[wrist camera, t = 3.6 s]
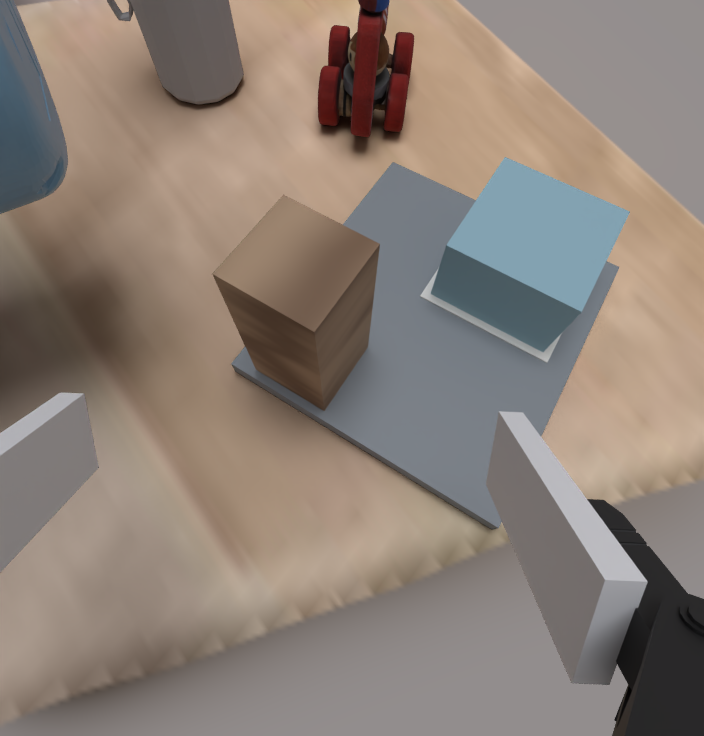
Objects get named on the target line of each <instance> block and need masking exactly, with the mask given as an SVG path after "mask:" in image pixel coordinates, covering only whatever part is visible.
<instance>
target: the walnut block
mask: <svg viewBox="0 0 704 736" xmlns="http://www.w3.org/2000/svg"><path fill="white" fill-rule="evenodd" d="M379 249H380V244H379V243H377V242H375V241H373V240H371V239H369V238H368V237H366V236H364V235H362V234H360V233H358V232H356V231H354V230H352V229H350V228H348V227H346V226H344V225H342V224H340V223H338V222H336V221H334V220H332V219H330V218H328V217H326V216H324V215H322V214H320V213H318V212H316V211H314V210H312V209H311V208H309V207H307V206H305V205H303V204H301V203H299V202H297V201H295V200H293V199H291V198H289V197H287V196H285V195H283V196H282V197H281V198H280V199H279V200H278V201H277V202H276V204H275V205H274V206H273V207H272V208H271V209H270V210H269V211H268V212H267V214H266V215H265V216H264V217H263V218H262V219H261V220H260V221H259V223H258V224H257V225H256V226H255V227H254V228H253V229H252V230H251V231H250V233H249V234H248V235H247V236H246V237H245V238H244V239H243V240H242V241H241V243H240V244H239V245H238V246H237V247H236V248H235V249H234V250H233V251H232V253H231V254H230V255H229V256H228V257H227V258H226V259H225V260H224V261H223V263H222V264H221V265H220V266H219V267H218V268H217V269H216V270H215V271H214V273H213V276H214V279H215V281H216V283H217V285H218V287H219V290H220V292H221V294H222V296H223V298H224V301H225V303H226V305H227V307H228V309H229V312H230V314H231V316H232V318H233V320H234V323H235V325H236V327H237V329H238V331H239V334H240V336H241V338H242V340H243V342H244V344H245V347H246V349H247V351H248V353H249V355H250V358H251V360H252V362H253V364H254V366H255V369H256V370H257V371H259V372H261V373H262V374H264V375H266V376H267V377H269V378H271V379H272V380H274V381H275V382H277V383H279V384H280V385H282V386H284V387H285V388H287V389H289V390H290V391H292V392H294V393H295V394H297V395H298V396H300V397H302V398H303V399H305V400H307V401H308V402H310V403H312V404H313V405H315V406H317V407H318V408H320V409H321V410H323V411H325V410H326V408H327V407H328V405H329V404H330V402H331V401H332V399H333V398H334V396H335V395H336V393H337V392H338V390H339V389H340V387H341V386H342V384H343V383H344V382H345V380H346V379H347V377H348V376H349V374H350V373H351V371H352V370H353V368H354V367H355V365H356V364H357V362H358V361H359V359H360V358H361V356H362V355H363V354H364V352H365V351H366V349H367V348H368V343H369V334H370V326H371V317H372V309H373V300H374V291H375V283H376V274H377V266H378V257H379Z"/></svg>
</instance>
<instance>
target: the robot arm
mask: <svg viewBox="0 0 704 736" xmlns="http://www.w3.org/2000/svg"><path fill="white" fill-rule="evenodd" d="M67 165H68V155H67V146H66V142H65V137H64V133H63V130H62V126H61V123H60V120H59V117H58V114H57V111H56V108H55V105H54V102H53V99H52V97H51V94H50V91H49V88H48V85H47V83H46V80H45V77H44V74H43V72H42V69H41V67H40V64H39V62H38V59H37V56H36V54H35V51H34V49H33V46H32V44H31V41H30V39H29V36H28V34H27V31H26V29H25V26H24V24H23V22H22V19H21V17H20V14H19V12H18V9H17V7H16V5H15V2H14V0H0V214H1V213H4V212H7V211H10V210H12V209H15V208H18V207H21V206H23V205H26V204H29V203H32V202H34V201H37V200H40V199H42V198H44V197H46V196H48V195H50V194H51V193H53V192H54V191H55V190H56V189H57V188H58V187H59V186H60V185H61V183H62V181H63V179H64V177H65V174H66V170H67ZM98 468H99V466H98V461H97V456H96V451H95V446H94V441H93V436H92V431H91V425H90V420H89V415H88V410H87V405H86V400H85V395H84V394H82V393H59V394H57V395H56V396H54V397H53V398H51V399H50V400H48V401H47V402H45V403H44V404H42V405H41V406H39V407H38V408H37V409H35V410H34V411H32V412H31V413H29V414H28V415H26V416H25V417H23V418H22V419H20V420H19V421H17V422H16V423H14V424H13V425H11V426H10V427H8V428H7V429H5V430H4V431H3V432H1V433H0V572H1V571H2V570H3V569H4V568H5V567H6V566H7V565H8V564H9V563H10V562H11V560H12V559H13V558H14V557H15V556H16V555H17V554H18V553H19V552H20V551H21V550H22V549H23V548H24V547H25V546H26V545H27V543H28V542H29V541H30V540H31V539H32V538H33V537H34V536H35V535H36V534H37V533H38V532H39V531H40V530H41V529H42V527H43V526H44V525H45V524H46V523H47V522H48V521H49V520H50V519H51V518H52V517H53V516H54V515H55V514H56V513H57V511H58V510H59V509H60V508H61V507H62V506H63V505H64V504H65V503H66V502H67V501H68V500H69V499H70V498H71V497H72V495H73V494H74V493H75V492H76V491H77V490H78V489H79V488H80V487H81V486H82V485H83V484H84V483H85V482H86V481H87V480H88V478H89V477H90V476H91V475H92V474H93V473H94V472H95V471H96V470H97V469H98ZM486 486H487V488H488V490H489V493H490V495H491V497H492V500H493V502H494V504H495V507H496V509H497V511H498V514H499V516H500V518H501V521H502V523H503V525H504V528H505V530H506V532H507V535H508V537H509V539H510V541H511V544H512V546H513V548H514V551H515V553H516V555H517V558H518V560H519V562H520V565H521V567H522V569H523V571H524V574H525V576H526V579H527V581H528V583H529V586H530V588H531V590H532V592H533V595H534V597H535V600H536V602H537V604H538V607H539V609H540V611H541V613H542V616H543V618H544V620H545V623H546V625H547V627H548V630H549V632H550V634H551V637H552V639H553V641H554V644H555V646H556V648H557V651H558V653H559V655H560V658H561V660H562V662H563V665H564V667H565V669H566V672H567V674H568V676H569V678H570V681H571V683H579V684H602V685H609V684H610V682H611V679H612V676H613V674H614V671H615V668H616V665H617V664H618V666H619V668H620V670H621V672H622V674H623V675H624V677H625V679H626V681H627V683H628V687H627V689H626V692H625V694H624V697H623V700H622V702H621V705H620V707H619V710H618V712H617V715H616V717H615V721H616V725H615V728H614V731H613V735H612V736H704V599H702V598H699V597H696V596H693V595H690V594H688V593H687V592H686V591H685V590H684V589H683V587H682V586H681V585H680V584H679V582H678V581H677V580H676V579H675V578H674V576H673V575H672V574H671V572H670V571H669V570H668V569H667V568H666V566H665V565H664V564H663V563H662V561H661V560H660V559H659V558H658V557H657V555H656V554H655V553H654V552H653V550H652V549H651V548H650V547H649V546H647V545H646V542H645V541H644V539H643V538H642V537H641V536H640V534H639V533H636V529H635V528H634V527H633V526H632V525H631V524H630V522H629V521H628V520H627V518H626V517H625V516H624V515H623V514H622V513H621V512H619V511H618V510H617V509H615V508H614V507H613V506H611V505H610V504H608V503H607V502H606V501H604V500H593V499H586V497H585V496H584V495H583V493H582V492H581V491H580V489H579V488H578V486H577V485H576V484H575V482H574V481H573V480H572V478H571V477H570V476H569V474H568V473H567V472H566V470H565V469H564V467H563V466H562V465H561V463H560V462H559V461H558V459H557V458H556V457H555V455H554V454H553V453H552V451H551V450H550V448H549V447H548V446H547V444H546V443H545V442H544V440H543V439H542V438H541V436H540V435H539V434H538V432H537V431H536V429H535V428H534V427H533V425H532V424H531V423H530V421H529V420H528V419H527V417H526V416H525V415H524V413H523V412H502V411H499V413H498V418H497V424H496V430H495V435H494V441H493V446H492V452H491V458H490V463H489V469H488V474H487V480H486Z"/></svg>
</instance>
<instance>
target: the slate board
mask: <svg viewBox="0 0 704 736" xmlns="http://www.w3.org/2000/svg"><path fill="white" fill-rule="evenodd" d="M475 201H476V200H474V199H471V198H469V197H467V196H465V195H463V194H461V193H459V192H456V191H454V190H452V189H450V188H448V187H446V186H444V185H441V184H439V183H437V182H435V181H433V180H431V179H428V178H426V177H424V176H422V175H420V174H418V173H416V172H413V171H411V170H409V169H407V168H405V167H403V166H401V165H398V164H396V163H394V162H393V163H392V164H391V165H390V166H389V168H388V169H387V170H386V171H385V173H384V174H383V175H382V176H381V178H380V179H379V180H378V181H377V183H376V184H375V185H374V186H373V188H372V189H371V190H370V191H369V193H368V194H367V195H366V196H365V198H364V199H363V200H362V201H361V203H360V204H359V205H358V206H357V208H356V209H355V210H354V211H353V213H352V214H351V215H350V216H349V218H348V219H347V220H346V221H345V223H344V224H343V225H344V226H346V227H348V228H350V229H352V230H354V231H356V232H358V233H360V234H362V235H364V236H366V237H368V238H369V239H371V240H373V241H375V242H377V243H379V244H380V249H379V257H378V266H377V274H376V283H375V291H374V300H373V309H372V317H371V326H370V334H369V343H368V348H367V349H366V351H365V352H364V354H363V355H362V356H361V358H360V359H359V361H358V362H357V364H356V365H355V367H354V368H353V370H352V371H351V373H350V374H349V376H348V377H347V379H346V380H345V382H344V383H343V384H342V386H341V387H340V389H339V390H338V392H337V393H336V395H335V396H334V398H333V399H332V401H331V402H330V404H329V405H328V407H327V408H326V410H325V411H323V410H321V409H320V408H318V407H317V406H315V405H313V404H312V403H310V402H308V401H307V400H305V399H303V398H302V397H300V396H298V395H297V394H295V393H294V392H292V391H290V390H289V389H287V388H285V387H284V386H282V385H280V384H279V383H277V382H275V381H274V380H272V379H271V378H269V377H267V376H266V375H264V374H262V373H261V372H259V371H257V370H256V369H255V366H254V364H253V362H252V360H251V358H250V355H249V353H248V351H247V349H246V347H244V349H243V350H242V351H241V352H240V354H239V355H238V356H237V357H236V359H235V360H234V361H233V362H232V366H233V368H234V370H235V371H236V372H237V373H239V374H241V375H242V376H244V377H245V378H247V379H249V380H250V381H252V382H253V383H255V384H257V385H258V386H260V387H262V388H263V389H265V390H266V391H268V392H270V393H271V394H273V395H275V396H276V397H278V398H279V399H281V400H283V401H284V402H286V403H288V404H289V405H291V406H292V407H294V408H296V409H297V410H299V411H301V412H302V413H304V414H305V415H307V416H309V417H310V418H312V419H313V420H315V421H317V422H318V423H320V424H322V425H323V426H325V427H326V428H328V429H330V430H331V431H333V432H335V433H336V434H338V435H339V436H341V437H343V438H344V439H346V440H348V441H349V442H351V443H352V444H354V445H356V446H357V447H359V448H360V449H362V450H364V451H365V452H367V453H369V454H370V455H372V456H373V457H375V458H377V459H378V460H380V461H382V462H383V463H385V464H386V465H388V466H390V467H391V468H393V469H395V470H396V471H398V472H399V473H401V474H403V475H404V476H406V477H408V478H409V479H411V480H412V481H414V482H416V483H417V484H419V485H420V486H422V487H424V488H425V489H427V490H429V491H430V492H432V493H433V494H435V495H437V496H438V497H440V498H442V499H443V500H445V501H446V502H448V503H450V504H451V505H453V506H455V507H456V508H458V509H459V510H461V511H463V512H464V513H466V514H467V515H469V516H471V517H472V518H474V519H476V520H477V521H479V522H480V523H482V524H484V525H485V526H487V527H489V528H490V529H496V528H499V526H500V524H501V522H502V521H501V518H500V516H499V514H498V511H497V509H496V507H495V504H494V502H493V500H492V497H491V495H490V493H489V490H488V488H487V486H486V480H487V474H488V469H489V463H490V458H491V452H492V446H493V441H494V435H495V430H496V424H497V418H498V413H499V411H502V412H523V413H524V415H525V416H526V417H527V419H528V420H529V421H530V423H531V424H532V425H533V427H534V428H535V429H536V431H537V432H538V434H539V435H540V436H541V435H542V433H543V431H544V429H545V427H546V425H547V422H548V420H549V418H550V416H551V414H552V412H553V409H554V407H555V405H556V403H557V401H558V399H559V397H560V394H561V392H562V390H563V388H564V386H565V384H566V381H567V379H568V377H569V375H570V373H571V371H572V368H573V366H574V364H575V362H576V360H577V358H578V355H579V353H580V351H581V349H582V347H583V345H584V343H585V340H586V338H587V336H588V334H589V332H590V330H591V327H592V325H593V323H594V321H595V319H596V317H597V314H598V312H599V310H600V308H601V306H602V304H603V302H604V299H605V297H606V295H607V293H608V291H609V289H610V286H611V284H612V282H613V280H614V278H615V276H616V273H617V271H618V269H619V267H618V266H616V265H613V264H611V263H609V262H607V261H606V263H605V265H604V267H603V269H602V271H601V273H600V275H599V277H598V279H597V281H596V283H595V286H594V288H593V290H592V292H591V294H590V296H589V298H588V300H587V302H586V304H585V306H584V308H583V310H582V312H581V313H580V314H579V315H578V316H577V317H576V319H575V320H574V321H573V322H572V323H571V324H570V325H569V326H568V327H567V328H566V329H565V330H564V331H563V332H562V333H561V334H560V335H559V336H558V337H557V338H556V339H555V340H554V342H553V343H552V344H551V345H550V346H549V347H548V348H547V349H546V350H545V351H544V352H541V351H539V350H537V349H535V348H533V347H532V346H530V345H528V344H526V343H524V342H522V341H520V340H518V339H516V338H514V337H512V336H510V335H508V334H507V333H505V332H503V331H501V330H499V329H497V328H495V327H493V326H491V325H489V324H487V323H485V322H484V321H482V320H480V319H478V318H476V317H474V316H472V315H470V314H468V313H466V312H464V311H462V310H460V309H459V308H457V307H455V306H453V305H451V304H449V303H447V302H445V301H443V300H441V299H439V298H437V297H435V296H434V295H432V294H431V290H432V287H433V284H434V281H435V278H436V275H437V272H438V269H439V266H440V263H441V260H442V257H443V254H444V251H445V248H446V245H447V243H448V242H449V240H450V239H451V237H452V236H453V234H454V233H455V231H456V230H457V228H458V227H459V225H460V224H461V222H462V221H463V219H464V218H465V216H466V215H467V213H468V212H469V210H470V209H471V207H472V206H473V204H474V203H475Z"/></svg>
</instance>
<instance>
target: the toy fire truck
mask: <svg viewBox="0 0 704 736" xmlns="http://www.w3.org/2000/svg"><path fill="white" fill-rule="evenodd" d="M358 1H359V4H360V11H359V18H358V31H357V32H356V33H355V35H354V36H353V37H352V39H351V40H350V29H349V27H347V26H337V25H334V26H333V27H332V28H331V31H330V39H329V53H328V66H324V67H323V68H322V69H321V73H320V80H319V90H318V117H319V122H320V124H323V125H331V126H336V125H337V124H338V123H339V119H340V115H341V116H344V117H346V116H351V133H352V134H353V135H356V136H363V137H369V136H370V133H371V125H372V117H373V111H374V109H377V110H385V120H384V129H385V130H386V131H393V132H400V131H401V130H402V126H403V121H404V114H405V107H406V99H407V91H408V84H409V78H410V72H411V64H412V56H413V46H414V35H413V34H412V33H407V32H398V33H397V34H396V39H395V44H394V52H393V55H392V54H389V46H388V43H387V40H386V38H385V36H384V34H385V31H386V25H387V16H388V6H389V0H358ZM387 68H392V72H391V75H390V77H389V72H388V69H387Z"/></svg>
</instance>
